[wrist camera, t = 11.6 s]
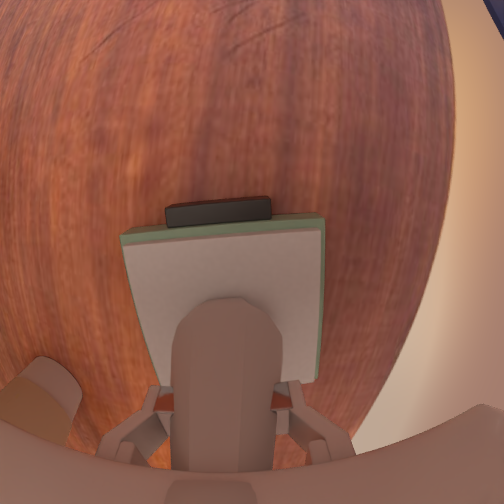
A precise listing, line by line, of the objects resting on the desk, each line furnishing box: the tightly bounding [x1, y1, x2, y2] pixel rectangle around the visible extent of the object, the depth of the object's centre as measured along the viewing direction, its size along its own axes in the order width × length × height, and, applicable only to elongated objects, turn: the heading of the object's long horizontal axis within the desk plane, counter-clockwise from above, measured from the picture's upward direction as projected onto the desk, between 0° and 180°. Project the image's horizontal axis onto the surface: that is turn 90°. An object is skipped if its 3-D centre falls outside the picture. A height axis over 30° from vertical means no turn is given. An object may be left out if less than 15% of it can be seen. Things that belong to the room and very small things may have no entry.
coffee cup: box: [0, 356, 82, 446], centre depth 14 cm, size 9×9×15 cm
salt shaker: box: [164, 297, 283, 504], centre depth 10 cm, size 6×6×13 cm
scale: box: [119, 196, 325, 386], centre depth 17 cm, size 12×13×3 cm
